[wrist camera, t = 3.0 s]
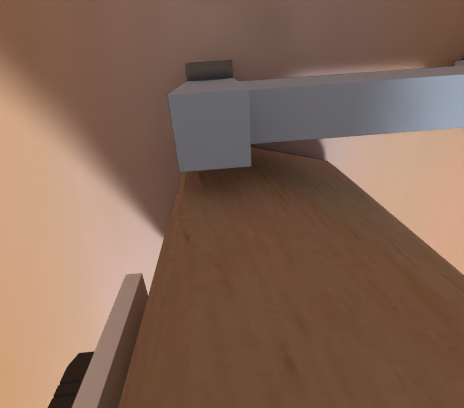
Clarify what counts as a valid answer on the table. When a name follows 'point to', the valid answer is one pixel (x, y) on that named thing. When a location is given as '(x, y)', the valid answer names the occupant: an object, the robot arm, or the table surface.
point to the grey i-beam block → (304, 109)
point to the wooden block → (295, 298)
